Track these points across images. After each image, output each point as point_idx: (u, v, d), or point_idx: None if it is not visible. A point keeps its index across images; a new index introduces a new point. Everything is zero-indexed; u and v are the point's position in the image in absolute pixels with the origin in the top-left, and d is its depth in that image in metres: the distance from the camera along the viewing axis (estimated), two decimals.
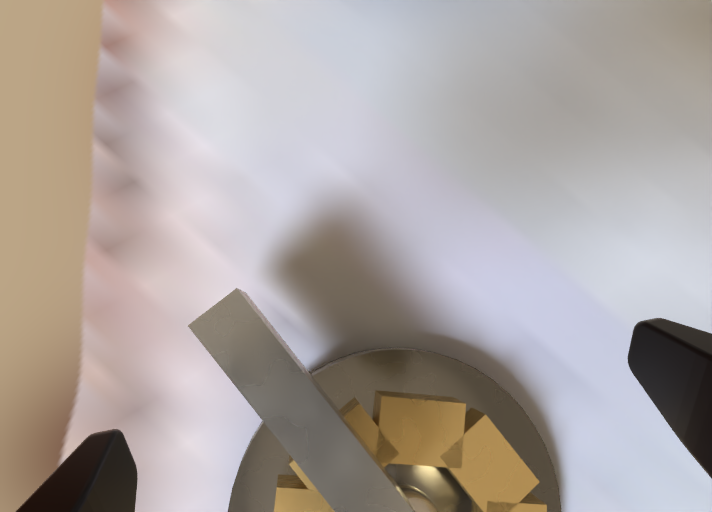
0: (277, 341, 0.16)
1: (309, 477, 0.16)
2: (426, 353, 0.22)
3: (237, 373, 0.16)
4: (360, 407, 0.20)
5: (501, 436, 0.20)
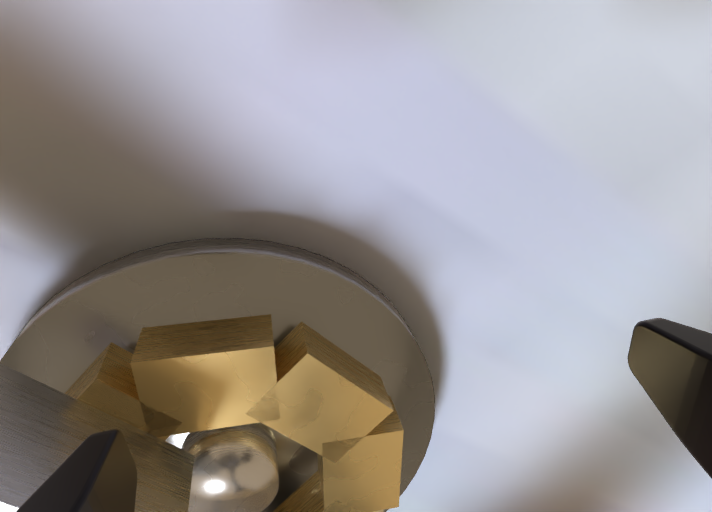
0: None
1: None
2: (220, 257, 0.14)
3: None
4: (100, 382, 0.12)
5: (335, 373, 0.14)
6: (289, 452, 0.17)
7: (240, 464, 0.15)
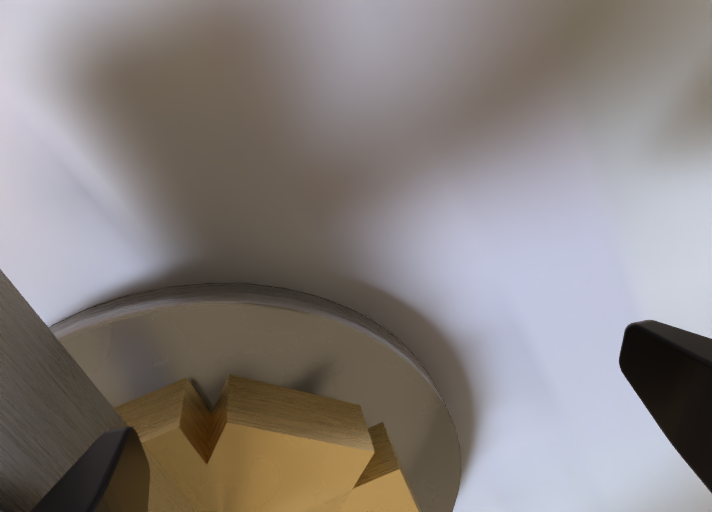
0: None
1: None
2: (343, 329, 0.12)
3: None
4: (179, 432, 0.10)
5: (409, 496, 0.12)
6: None
7: None
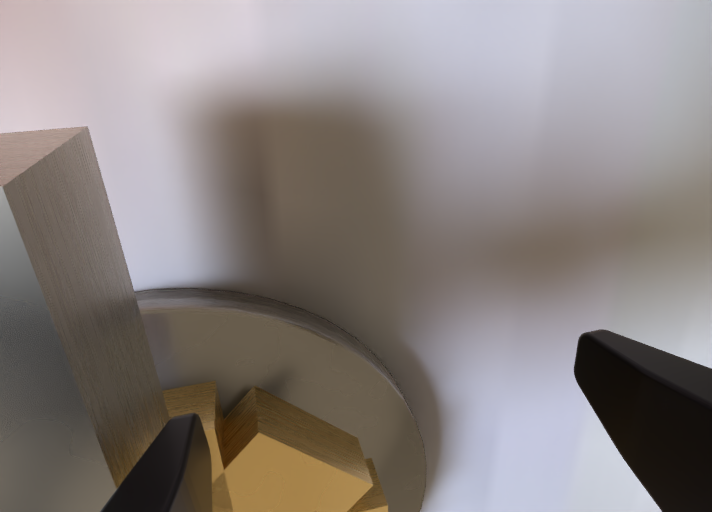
0: (70, 380, 0.05)
1: None
2: (395, 394, 0.14)
3: None
4: (212, 433, 0.10)
5: None
6: None
7: None
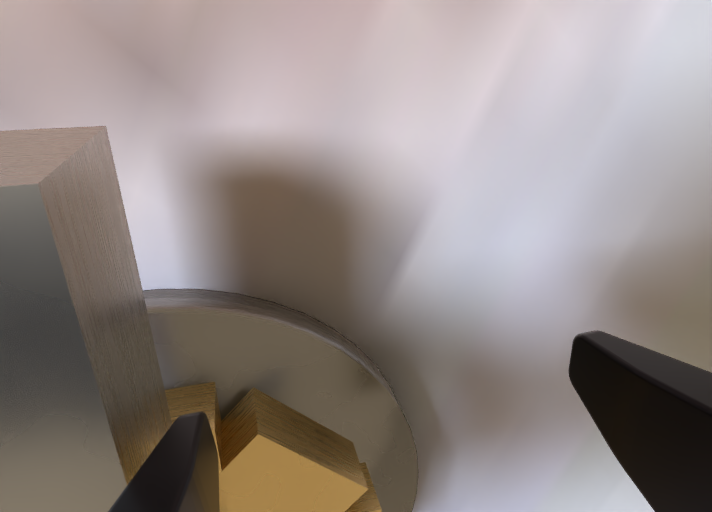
0: (90, 376, 0.06)
1: None
2: (415, 463, 0.15)
3: None
4: None
5: None
6: None
7: None
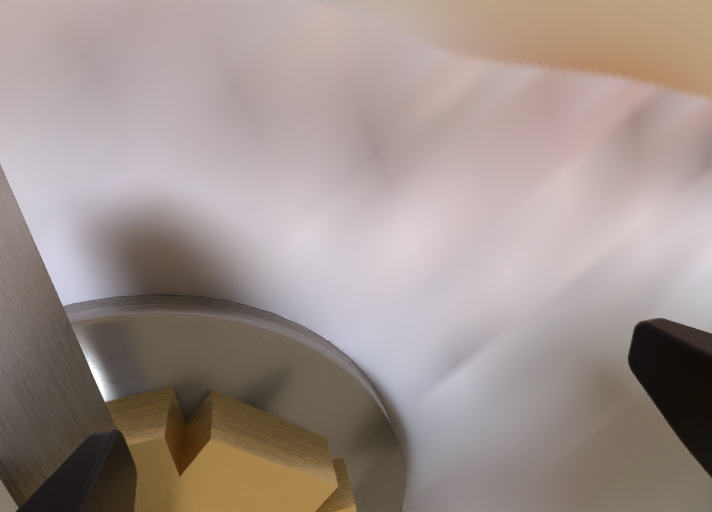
0: None
1: None
2: None
3: None
4: (162, 441, 0.10)
5: None
6: None
7: None
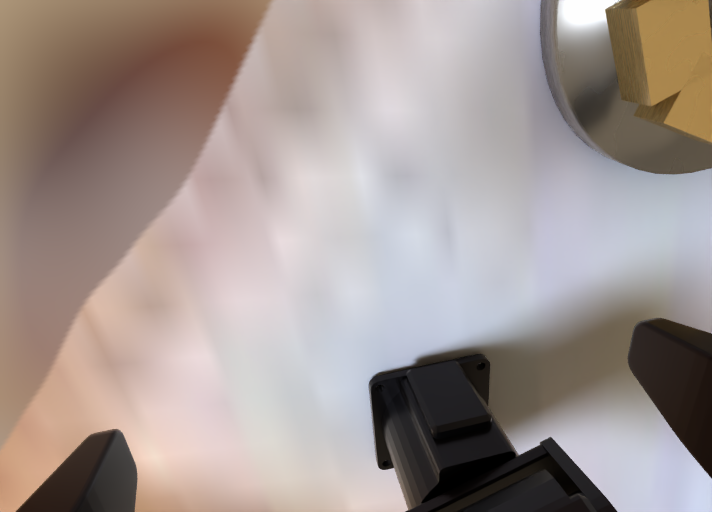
0: None
1: None
2: None
3: None
4: None
5: None
6: None
7: None
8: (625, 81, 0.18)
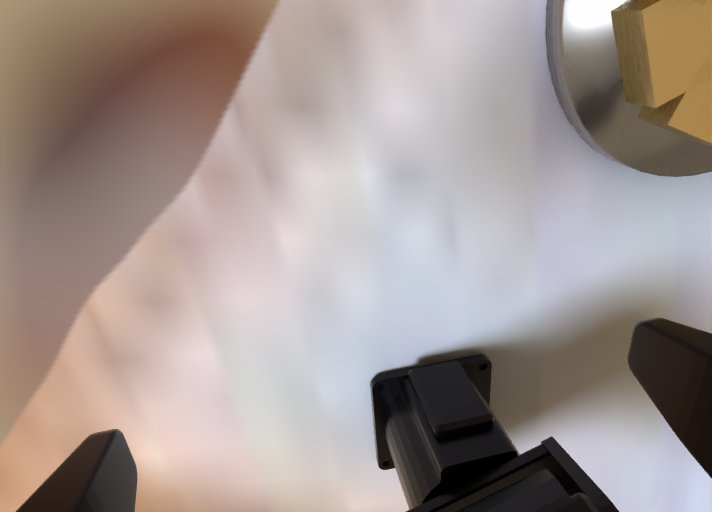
0: None
1: None
2: None
3: None
4: None
5: None
6: None
7: None
8: (630, 83, 0.19)
